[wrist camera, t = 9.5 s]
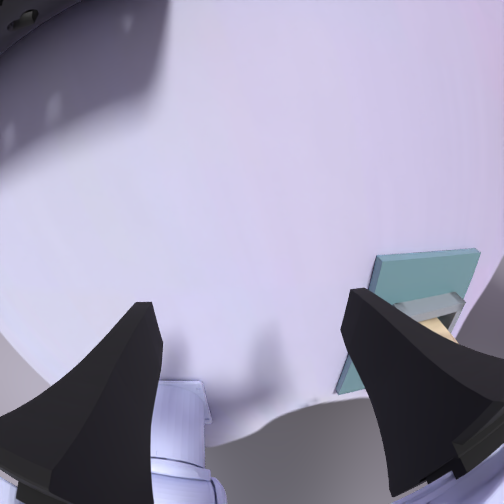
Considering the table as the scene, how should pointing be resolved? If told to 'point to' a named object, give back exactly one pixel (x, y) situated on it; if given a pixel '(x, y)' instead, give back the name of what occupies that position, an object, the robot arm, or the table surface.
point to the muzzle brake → (26, 17)
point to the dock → (419, 291)
